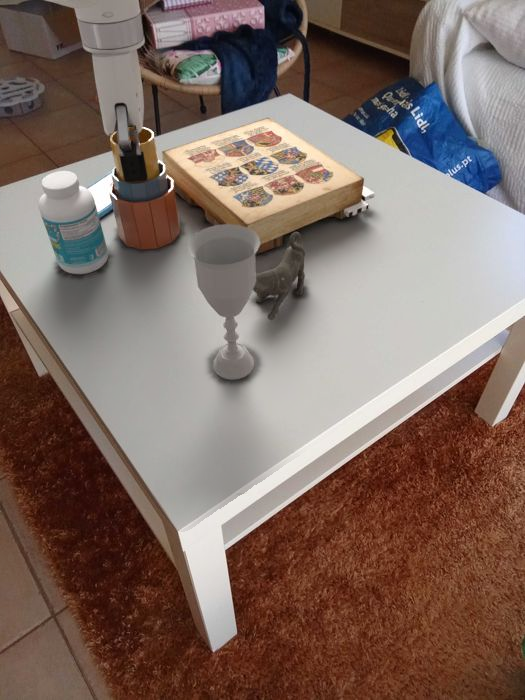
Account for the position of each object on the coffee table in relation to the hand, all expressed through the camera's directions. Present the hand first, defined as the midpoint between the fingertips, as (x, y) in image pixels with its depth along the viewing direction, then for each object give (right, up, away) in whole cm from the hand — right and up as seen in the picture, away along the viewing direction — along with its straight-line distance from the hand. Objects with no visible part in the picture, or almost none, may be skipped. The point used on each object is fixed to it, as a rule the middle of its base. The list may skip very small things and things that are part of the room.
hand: (137, 167), depth 81 cm
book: (+19, -1, +14) cm, 24 cm away
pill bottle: (-9, -13, +3) cm, 16 cm away
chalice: (+15, -28, -12) cm, 34 cm away
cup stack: (0, -8, +8) cm, 11 cm away
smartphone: (-9, -1, +15) cm, 18 cm away
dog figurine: (+20, -19, -3) cm, 28 cm away
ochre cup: (0, -5, +5) cm, 7 cm away
